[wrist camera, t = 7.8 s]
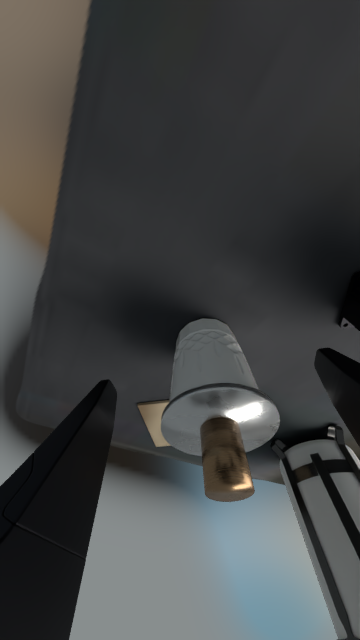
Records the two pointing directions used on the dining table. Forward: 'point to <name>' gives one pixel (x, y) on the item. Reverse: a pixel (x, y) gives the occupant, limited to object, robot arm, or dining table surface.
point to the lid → (221, 433)
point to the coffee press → (328, 519)
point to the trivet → (154, 420)
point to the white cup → (208, 357)
